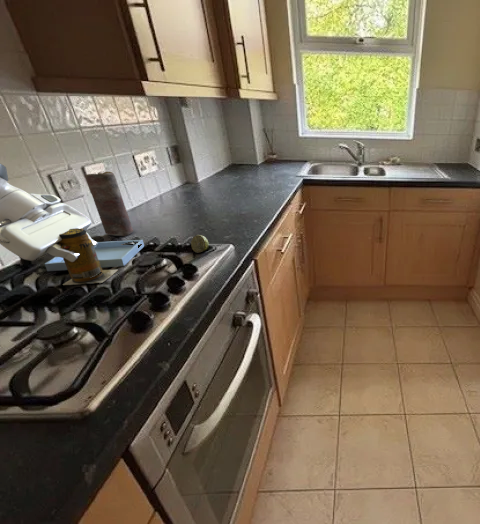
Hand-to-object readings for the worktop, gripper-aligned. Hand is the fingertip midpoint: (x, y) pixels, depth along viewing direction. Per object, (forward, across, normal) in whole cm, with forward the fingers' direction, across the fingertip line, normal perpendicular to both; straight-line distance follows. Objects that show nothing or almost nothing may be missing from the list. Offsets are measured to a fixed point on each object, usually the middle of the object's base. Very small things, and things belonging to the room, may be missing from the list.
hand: (86, 252), depth 79 cm
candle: (-2, +32, +11) cm, 34 cm away
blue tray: (+1, +13, +8) cm, 15 cm away
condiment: (+4, 0, +5) cm, 7 cm away
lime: (+20, +14, -10) cm, 26 cm away
